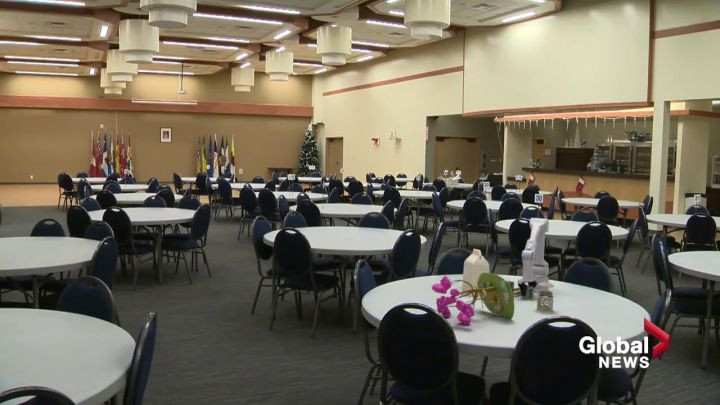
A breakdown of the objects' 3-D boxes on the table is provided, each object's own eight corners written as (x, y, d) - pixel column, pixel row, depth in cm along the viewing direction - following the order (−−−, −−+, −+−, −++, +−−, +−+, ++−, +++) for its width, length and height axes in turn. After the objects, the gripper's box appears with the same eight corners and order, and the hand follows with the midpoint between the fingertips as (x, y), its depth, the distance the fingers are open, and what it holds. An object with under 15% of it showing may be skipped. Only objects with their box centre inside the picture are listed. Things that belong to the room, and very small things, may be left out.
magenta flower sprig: (510, 259, 310) (451, 275, 294) (525, 318, 307) (467, 337, 291) (474, 265, 336) (418, 280, 320) (487, 319, 334) (432, 337, 318)
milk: (461, 293, 374) (463, 248, 372) (479, 291, 377) (480, 247, 375) (471, 297, 363) (472, 251, 360) (489, 296, 366) (491, 251, 364)
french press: (551, 314, 327) (553, 265, 325) (529, 311, 333) (530, 263, 331) (557, 310, 335) (559, 263, 333) (534, 307, 341) (536, 260, 339)
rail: (517, 291, 381) (517, 277, 381) (530, 294, 373) (531, 280, 373) (496, 294, 370) (497, 281, 370) (510, 298, 363) (510, 284, 362)
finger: (525, 297, 365) (526, 285, 365) (533, 299, 361) (534, 286, 360) (521, 298, 363) (521, 286, 362) (529, 300, 358) (529, 287, 358)
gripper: (525, 273, 353) (524, 298, 354) (542, 271, 362) (541, 294, 363) (515, 271, 359) (514, 295, 360) (531, 269, 368) (530, 292, 369)
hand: (527, 295), depth 362 cm, fingers open, 6 cm apart
